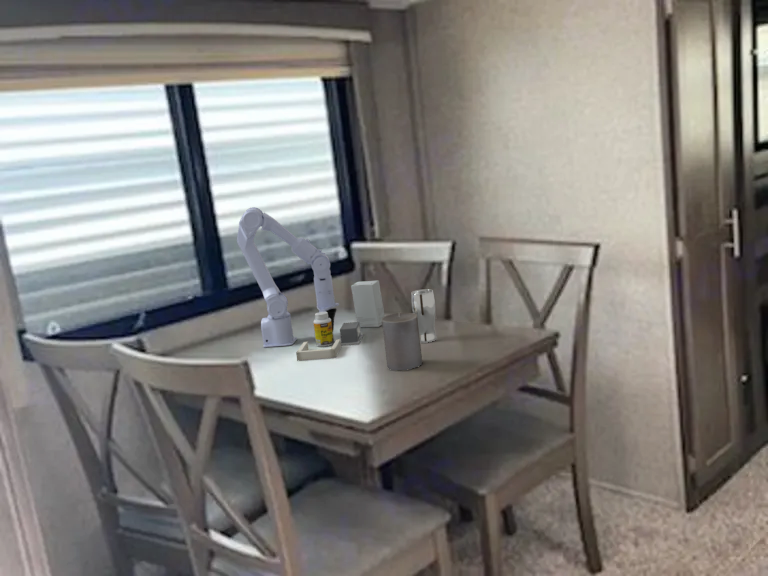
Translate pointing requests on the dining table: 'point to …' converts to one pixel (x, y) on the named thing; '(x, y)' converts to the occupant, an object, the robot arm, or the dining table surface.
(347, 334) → the box
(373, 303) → the skincare box
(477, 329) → the dining table surface
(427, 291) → the beer glass
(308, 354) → the tray
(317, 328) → the supplement bottle
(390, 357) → the pillar candle
